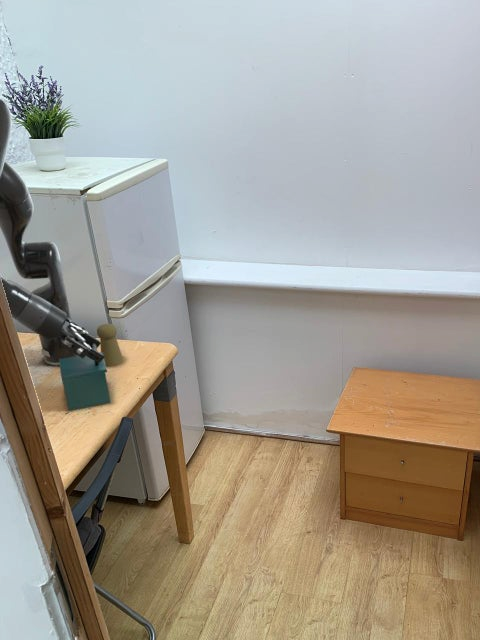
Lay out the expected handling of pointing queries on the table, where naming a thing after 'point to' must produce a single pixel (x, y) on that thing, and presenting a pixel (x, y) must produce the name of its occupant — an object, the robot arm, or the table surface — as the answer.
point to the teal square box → (86, 391)
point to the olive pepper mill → (109, 344)
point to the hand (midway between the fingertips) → (100, 352)
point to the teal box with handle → (81, 366)
